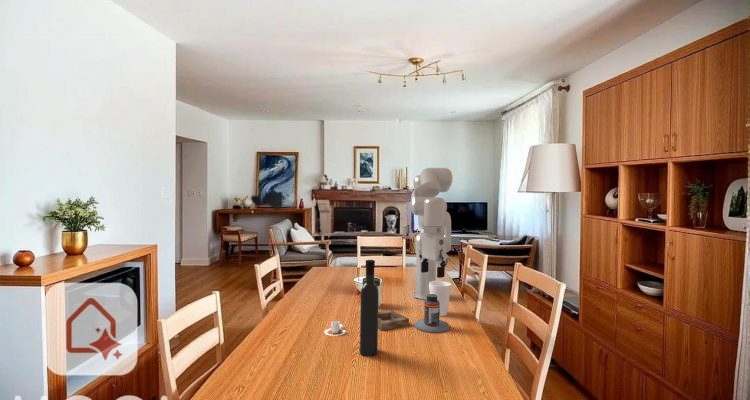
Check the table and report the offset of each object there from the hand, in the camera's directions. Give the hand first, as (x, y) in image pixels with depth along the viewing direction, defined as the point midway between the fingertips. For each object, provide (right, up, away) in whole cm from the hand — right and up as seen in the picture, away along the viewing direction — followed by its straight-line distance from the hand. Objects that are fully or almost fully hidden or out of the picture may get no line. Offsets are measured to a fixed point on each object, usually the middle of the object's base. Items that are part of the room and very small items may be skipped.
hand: (432, 274), depth 152 cm
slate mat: (0, -20, +1) cm, 20 cm away
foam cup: (+5, -20, +17) cm, 27 cm away
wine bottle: (-24, -21, -24) cm, 40 cm away
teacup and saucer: (-34, -21, -6) cm, 40 cm away
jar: (-24, -19, +27) cm, 41 cm away
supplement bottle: (0, -19, +1) cm, 19 cm away
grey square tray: (-18, -20, +4) cm, 27 cm away
